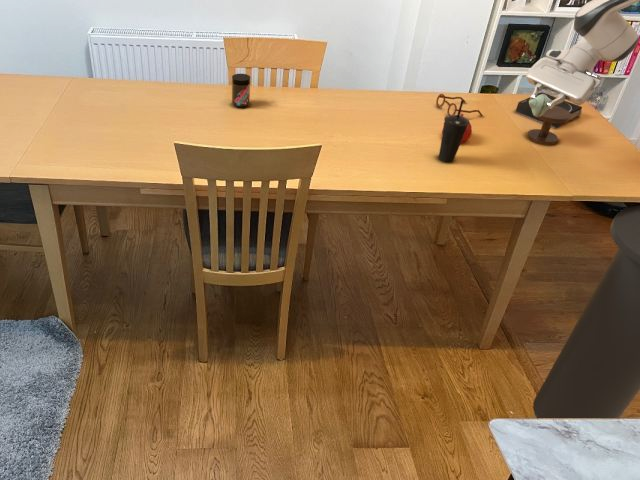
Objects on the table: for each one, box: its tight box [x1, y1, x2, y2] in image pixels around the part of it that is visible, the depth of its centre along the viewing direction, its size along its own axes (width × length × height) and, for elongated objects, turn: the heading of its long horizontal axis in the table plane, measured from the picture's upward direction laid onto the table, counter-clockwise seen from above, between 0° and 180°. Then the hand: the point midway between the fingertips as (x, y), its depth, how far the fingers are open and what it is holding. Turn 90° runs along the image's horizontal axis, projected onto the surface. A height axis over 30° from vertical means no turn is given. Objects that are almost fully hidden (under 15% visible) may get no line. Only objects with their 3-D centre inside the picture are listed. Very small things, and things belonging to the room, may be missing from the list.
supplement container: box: [231, 73, 251, 109], centre depth 214 cm, size 7×7×10 cm
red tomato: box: [441, 113, 473, 143], centre depth 200 cm, size 10×10×9 cm
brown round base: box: [526, 106, 571, 146], centre depth 202 cm, size 12×12×10 cm
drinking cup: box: [438, 99, 470, 164], centre depth 185 cm, size 8×8×20 cm
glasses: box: [435, 93, 483, 117], centre depth 219 cm, size 13×13×5 cm
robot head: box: [529, 94, 553, 117], centre depth 176 cm, size 8×4×7 cm, turn 88°
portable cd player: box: [514, 91, 583, 129], centre depth 219 cm, size 16×17×4 cm
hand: (540, 103), depth 175 cm, fingers closed on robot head, 4 cm apart
